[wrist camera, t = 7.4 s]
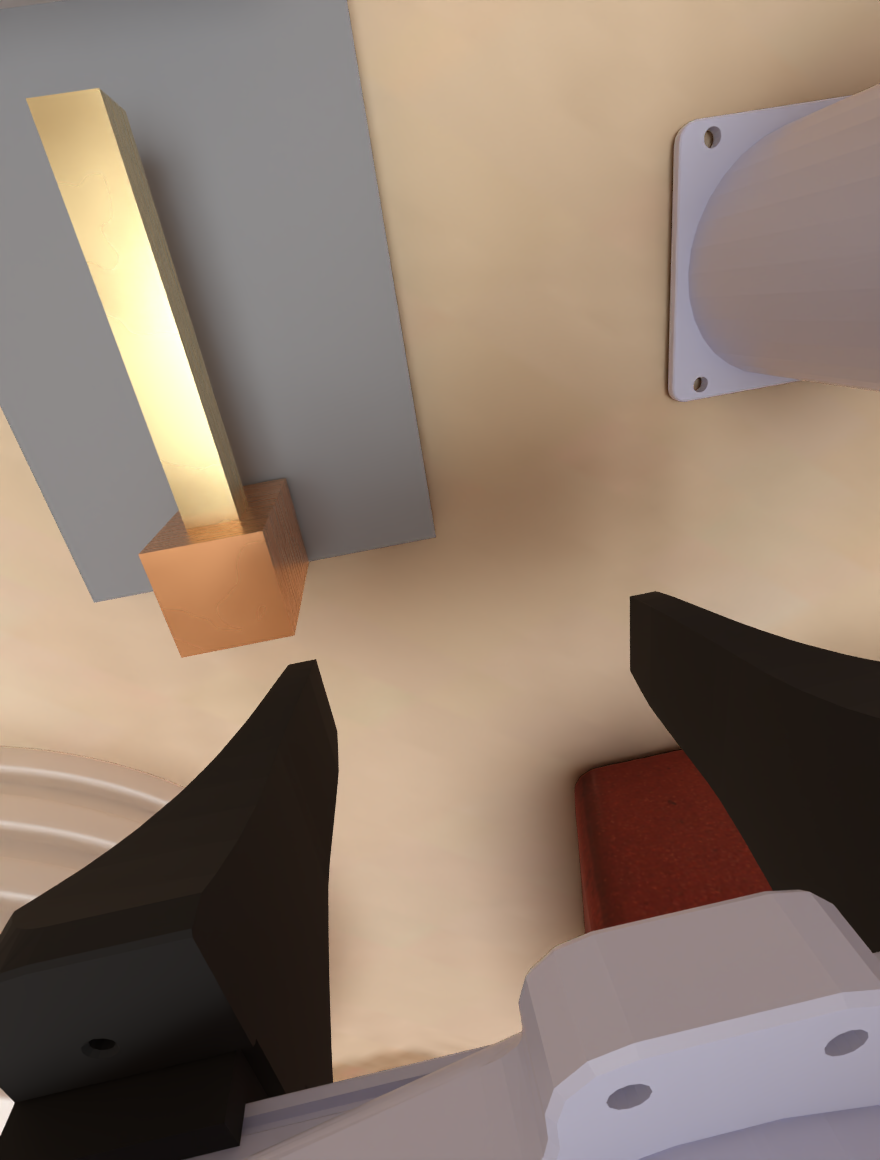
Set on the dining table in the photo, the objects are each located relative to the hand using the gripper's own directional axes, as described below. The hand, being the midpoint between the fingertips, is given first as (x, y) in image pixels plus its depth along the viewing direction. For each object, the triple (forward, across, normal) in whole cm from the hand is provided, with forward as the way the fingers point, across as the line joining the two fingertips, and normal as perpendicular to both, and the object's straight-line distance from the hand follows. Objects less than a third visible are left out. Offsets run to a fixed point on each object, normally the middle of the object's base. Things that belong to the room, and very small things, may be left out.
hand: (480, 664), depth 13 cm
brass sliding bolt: (+8, +6, -6) cm, 12 cm away
